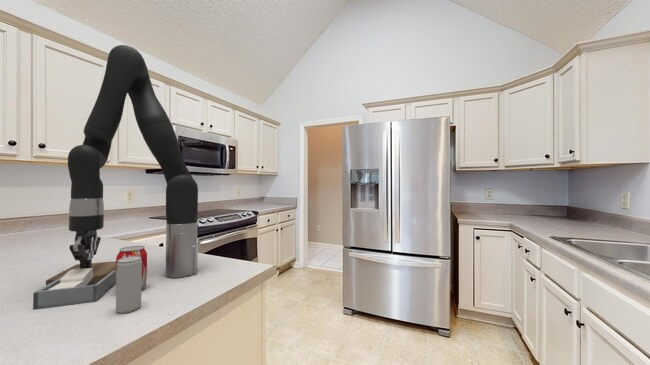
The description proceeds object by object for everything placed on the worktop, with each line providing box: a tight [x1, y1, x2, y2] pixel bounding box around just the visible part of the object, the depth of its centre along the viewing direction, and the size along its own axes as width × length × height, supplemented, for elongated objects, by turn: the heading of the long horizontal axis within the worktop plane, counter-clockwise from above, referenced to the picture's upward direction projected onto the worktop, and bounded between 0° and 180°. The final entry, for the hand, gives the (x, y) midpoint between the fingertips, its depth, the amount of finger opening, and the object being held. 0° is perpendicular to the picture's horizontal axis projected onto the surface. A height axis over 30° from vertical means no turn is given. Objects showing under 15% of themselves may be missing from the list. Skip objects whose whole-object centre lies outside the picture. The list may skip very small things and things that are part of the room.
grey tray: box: [32, 270, 116, 310], centre depth 69 cm, size 12×13×4 cm
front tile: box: [49, 281, 84, 290], centre depth 67 cm, size 5×5×3 cm
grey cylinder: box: [115, 256, 142, 314], centre depth 61 cm, size 5×5×12 cm
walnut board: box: [45, 260, 116, 286], centre depth 82 cm, size 16×16×3 cm
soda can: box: [115, 245, 148, 291], centre depth 72 cm, size 7×7×12 cm
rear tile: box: [60, 268, 93, 286], centre depth 72 cm, size 5×5×3 cm
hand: (85, 272), depth 75 cm, fingers closed
